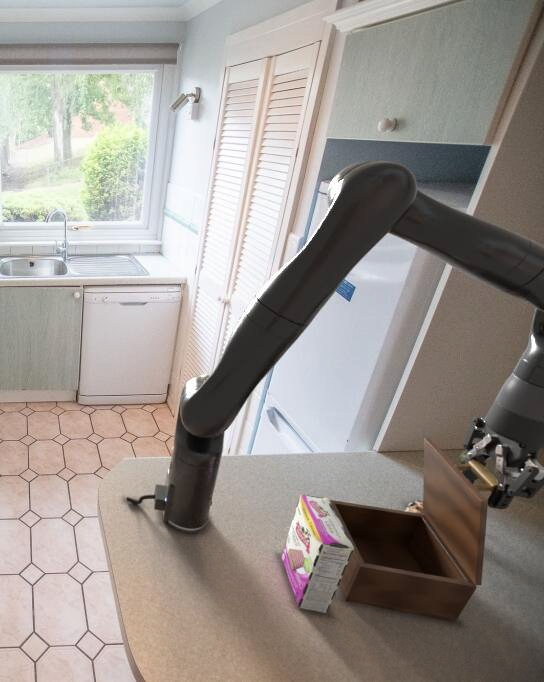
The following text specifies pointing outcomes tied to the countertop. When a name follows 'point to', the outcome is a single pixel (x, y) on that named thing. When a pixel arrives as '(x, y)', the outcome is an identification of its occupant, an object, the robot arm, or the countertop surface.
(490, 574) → the countertop surface
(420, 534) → the chest
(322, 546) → the candy bar box
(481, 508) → the lid
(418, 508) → the plant with pod
